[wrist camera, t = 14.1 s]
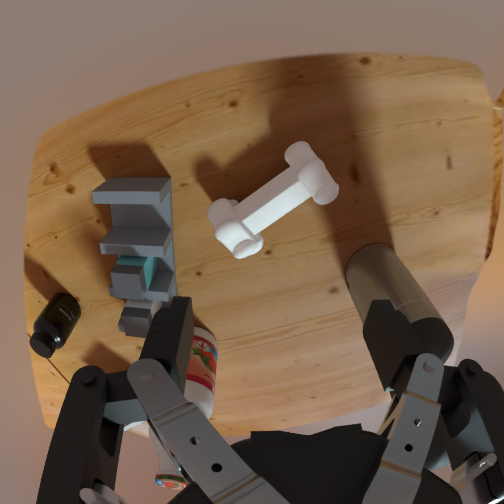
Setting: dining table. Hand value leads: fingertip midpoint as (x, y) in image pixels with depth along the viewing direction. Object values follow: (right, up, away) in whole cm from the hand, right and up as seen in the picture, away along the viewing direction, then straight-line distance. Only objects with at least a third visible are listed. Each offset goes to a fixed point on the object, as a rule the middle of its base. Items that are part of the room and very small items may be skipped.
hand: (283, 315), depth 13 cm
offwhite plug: (-18, -4, +34) cm, 38 cm away
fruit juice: (-12, -14, +41) cm, 45 cm away
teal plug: (-17, +2, +30) cm, 35 cm away
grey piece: (-17, +3, +31) cm, 36 cm away
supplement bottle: (-37, -7, +37) cm, 52 cm away
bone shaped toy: (+1, +11, +27) cm, 29 cm away
